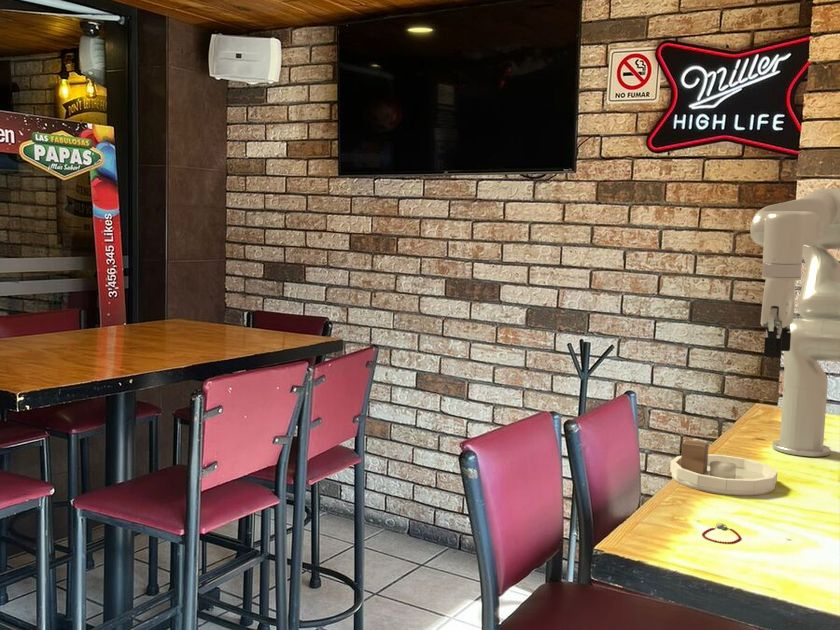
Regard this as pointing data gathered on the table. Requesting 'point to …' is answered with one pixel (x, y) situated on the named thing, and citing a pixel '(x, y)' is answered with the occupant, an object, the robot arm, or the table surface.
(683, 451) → the wooden brick
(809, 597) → the table surface
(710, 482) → the dish
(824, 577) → the table surface
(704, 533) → the red cord bracelet
